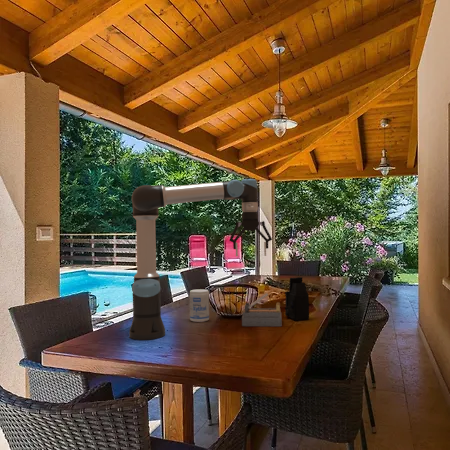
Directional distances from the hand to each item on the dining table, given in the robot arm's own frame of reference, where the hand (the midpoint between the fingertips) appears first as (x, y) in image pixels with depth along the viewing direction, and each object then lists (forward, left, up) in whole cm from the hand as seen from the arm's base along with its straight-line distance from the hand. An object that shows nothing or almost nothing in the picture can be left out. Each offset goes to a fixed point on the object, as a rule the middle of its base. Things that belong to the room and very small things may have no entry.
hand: (251, 256), depth 203 cm
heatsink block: (+5, -3, -31) cm, 32 cm away
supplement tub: (-26, +3, -32) cm, 41 cm away
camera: (+21, +9, -32) cm, 39 cm away
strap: (+4, -3, -21) cm, 21 cm away
